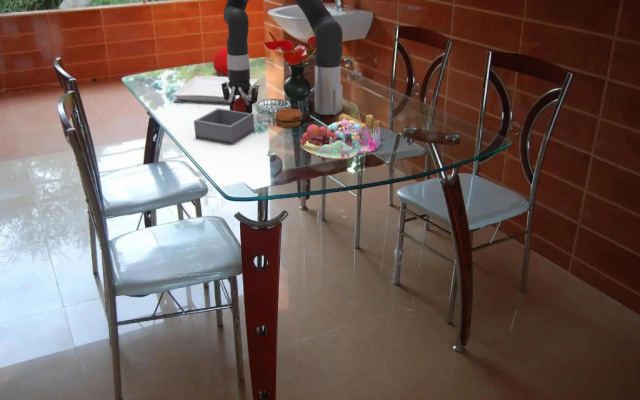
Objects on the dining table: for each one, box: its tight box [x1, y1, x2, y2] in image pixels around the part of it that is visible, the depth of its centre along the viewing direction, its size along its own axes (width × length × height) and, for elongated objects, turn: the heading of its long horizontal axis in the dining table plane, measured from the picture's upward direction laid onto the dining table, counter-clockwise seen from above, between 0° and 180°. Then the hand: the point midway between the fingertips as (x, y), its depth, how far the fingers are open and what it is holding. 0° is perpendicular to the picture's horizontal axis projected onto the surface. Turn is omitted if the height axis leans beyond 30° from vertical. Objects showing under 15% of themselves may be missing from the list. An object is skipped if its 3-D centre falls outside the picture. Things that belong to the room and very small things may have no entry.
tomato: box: [212, 46, 228, 76], centre depth 277 cm, size 13×13×13 cm
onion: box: [233, 96, 247, 113], centre depth 226 cm, size 6×6×8 cm
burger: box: [274, 107, 303, 129], centre depth 222 cm, size 10×10×5 cm
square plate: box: [172, 75, 260, 104], centre depth 252 cm, size 27×27×4 cm
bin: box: [193, 107, 255, 146], centre depth 212 cm, size 14×14×6 cm
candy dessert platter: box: [299, 113, 381, 160], centre depth 203 cm, size 25×24×9 cm
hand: (241, 113), depth 228 cm, fingers closed on onion, 6 cm apart
